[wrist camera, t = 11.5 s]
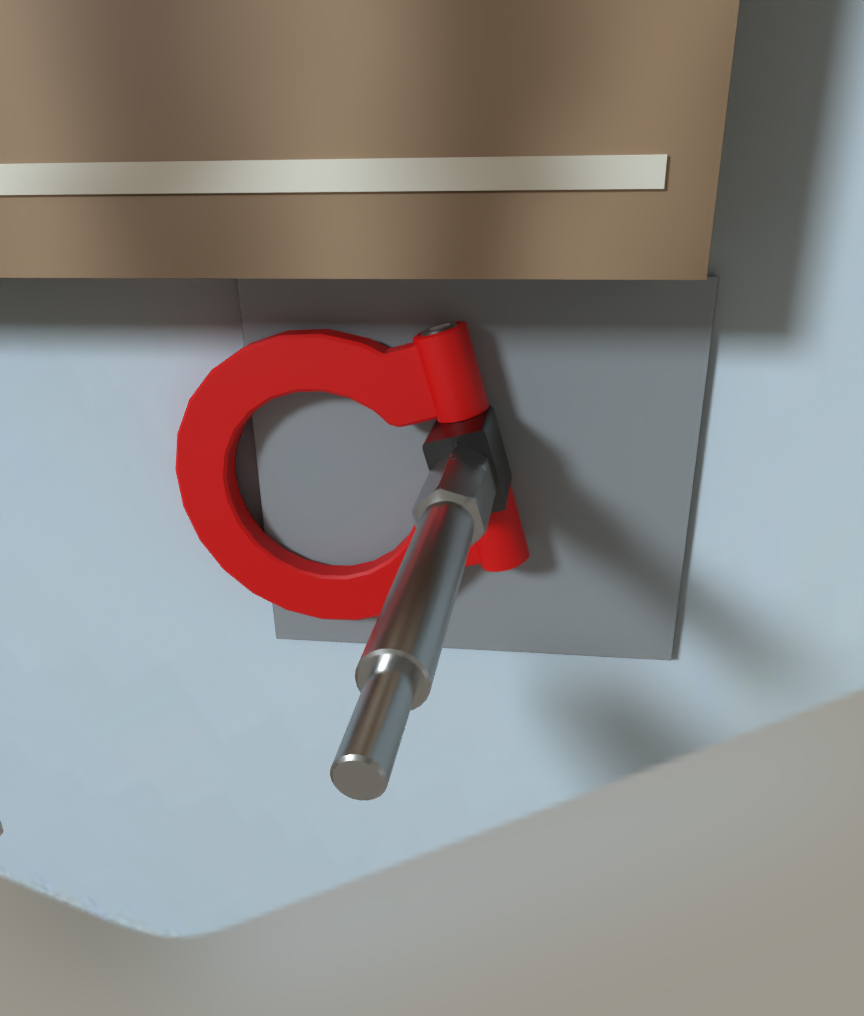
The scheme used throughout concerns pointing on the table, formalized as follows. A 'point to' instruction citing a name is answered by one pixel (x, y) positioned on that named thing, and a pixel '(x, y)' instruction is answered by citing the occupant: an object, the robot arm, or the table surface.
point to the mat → (528, 444)
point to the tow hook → (401, 572)
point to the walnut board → (362, 138)
